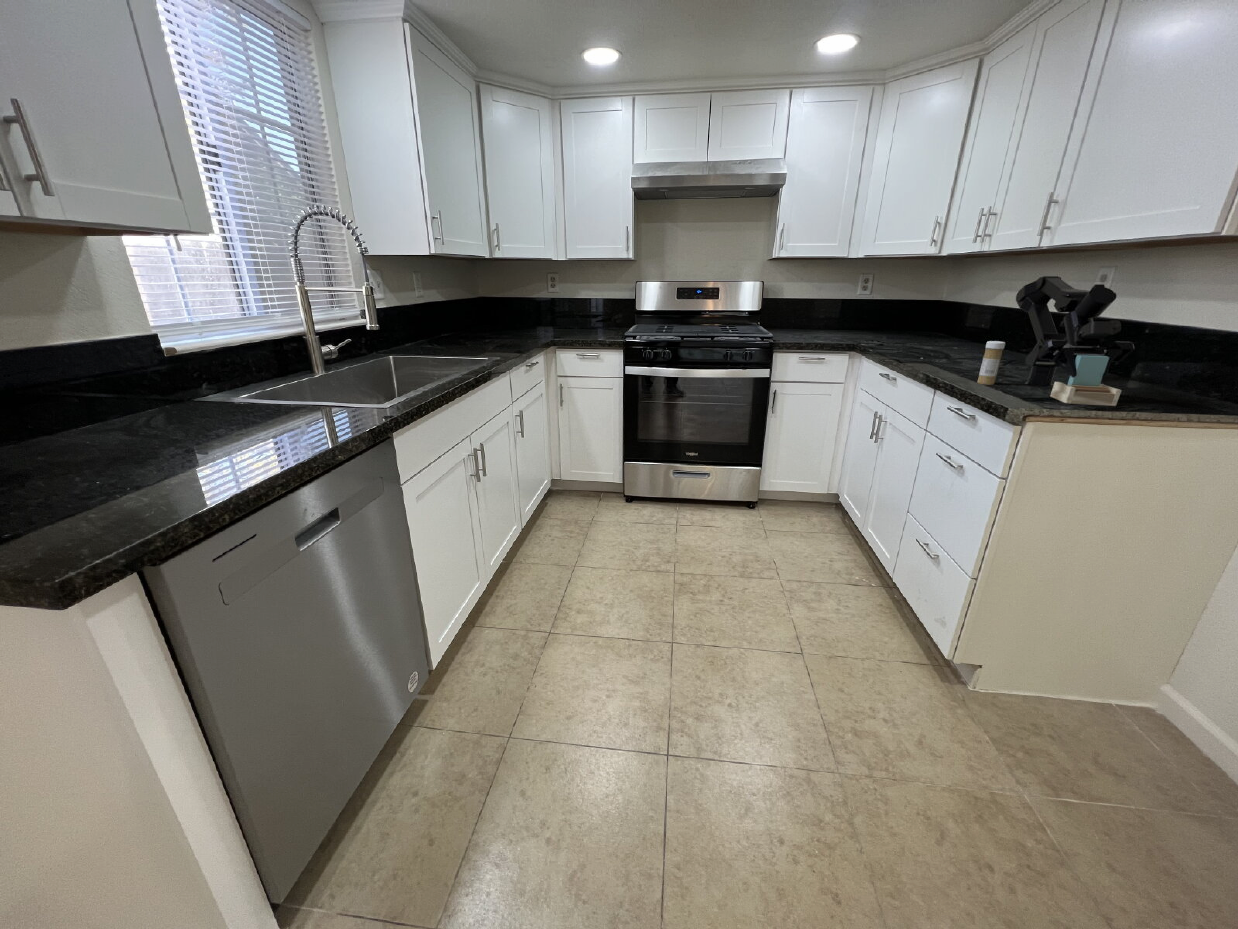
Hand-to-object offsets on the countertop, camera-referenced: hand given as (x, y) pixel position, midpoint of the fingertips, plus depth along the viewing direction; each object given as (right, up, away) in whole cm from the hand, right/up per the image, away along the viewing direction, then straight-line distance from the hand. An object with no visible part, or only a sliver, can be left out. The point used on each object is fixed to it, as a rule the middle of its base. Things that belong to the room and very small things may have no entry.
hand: (1089, 377), depth 129 cm
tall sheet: (0, -5, +4) cm, 6 cm away
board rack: (0, -7, +2) cm, 7 cm away
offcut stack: (0, -6, +1) cm, 6 cm away
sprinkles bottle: (-10, +1, +24) cm, 26 cm away
